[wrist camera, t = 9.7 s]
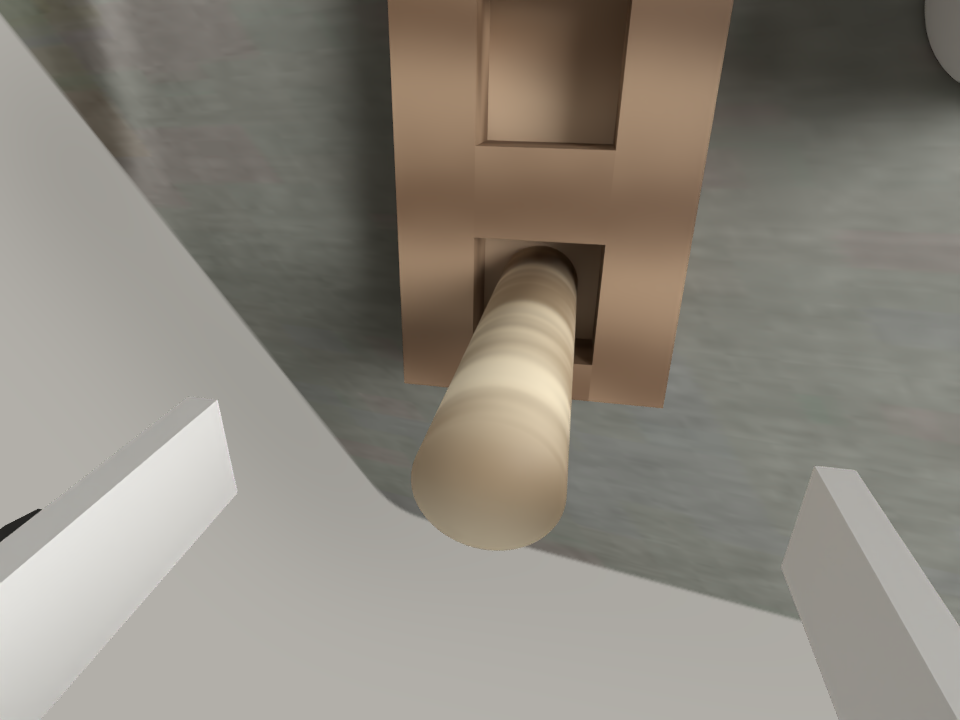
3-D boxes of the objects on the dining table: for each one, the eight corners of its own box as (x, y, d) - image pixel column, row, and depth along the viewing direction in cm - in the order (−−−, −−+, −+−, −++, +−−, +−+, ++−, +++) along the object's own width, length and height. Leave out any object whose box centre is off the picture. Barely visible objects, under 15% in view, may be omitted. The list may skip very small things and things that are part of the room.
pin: (503, 243, 27) (408, 414, 13) (580, 247, 26) (573, 430, 12) (500, 315, 29) (413, 539, 14) (574, 320, 28) (560, 560, 14)
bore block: (415, -53, 24) (384, -78, 20) (723, -59, 22) (749, -88, 18) (425, 349, 31) (404, 383, 28) (654, 369, 29) (662, 408, 26)
